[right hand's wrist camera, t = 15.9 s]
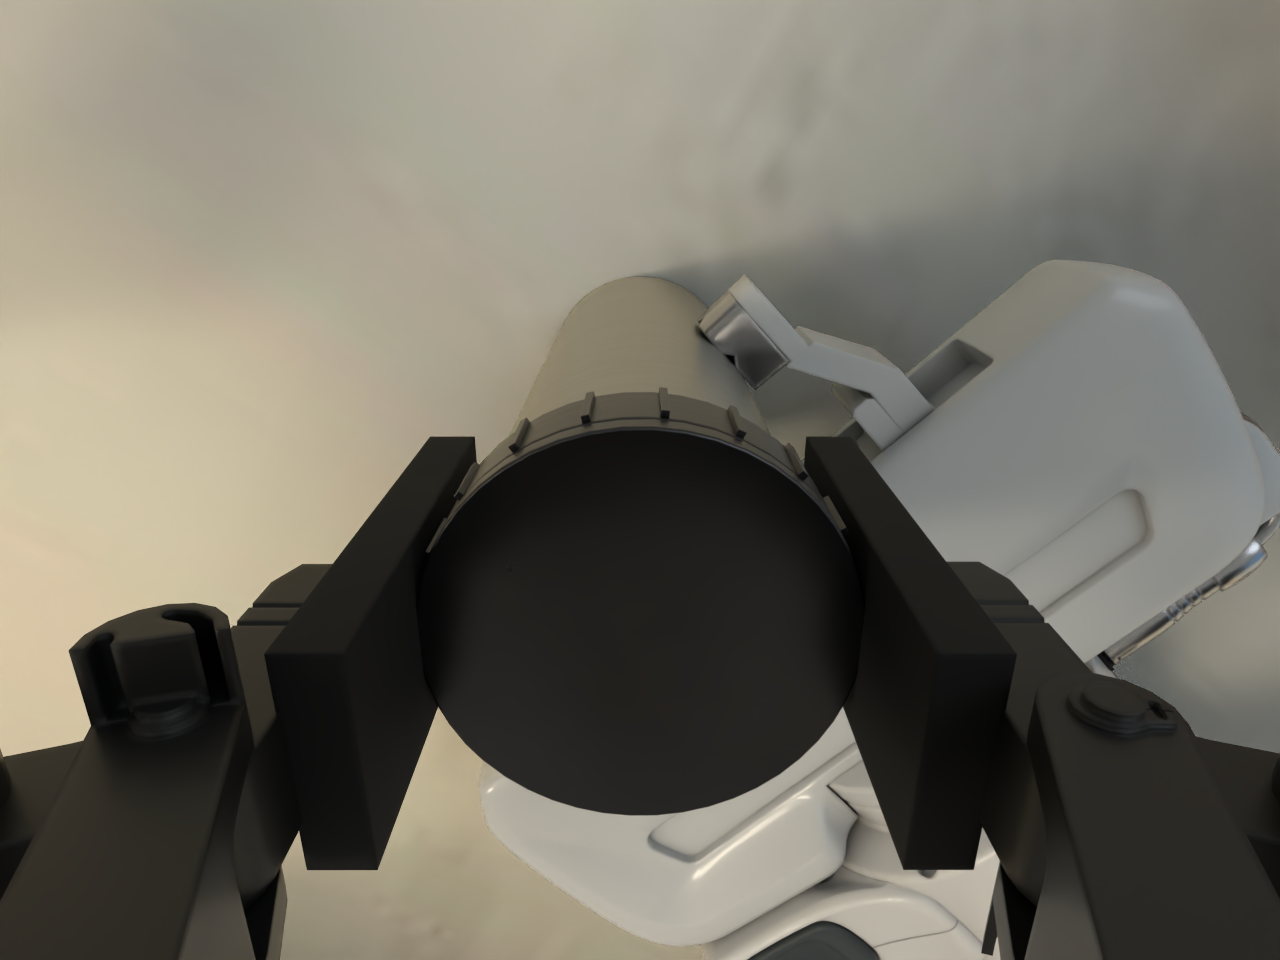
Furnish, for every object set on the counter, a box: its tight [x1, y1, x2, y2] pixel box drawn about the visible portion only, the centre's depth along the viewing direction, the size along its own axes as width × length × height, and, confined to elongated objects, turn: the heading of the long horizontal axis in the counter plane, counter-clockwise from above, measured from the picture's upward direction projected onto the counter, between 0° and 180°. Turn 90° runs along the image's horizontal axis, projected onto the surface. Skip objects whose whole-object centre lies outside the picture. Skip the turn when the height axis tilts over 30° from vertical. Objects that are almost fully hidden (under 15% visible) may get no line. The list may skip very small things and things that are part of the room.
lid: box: [416, 387, 865, 816], centre depth 11 cm, size 6×6×2 cm
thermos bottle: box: [510, 277, 771, 435], centre depth 18 cm, size 5×5×15 cm
